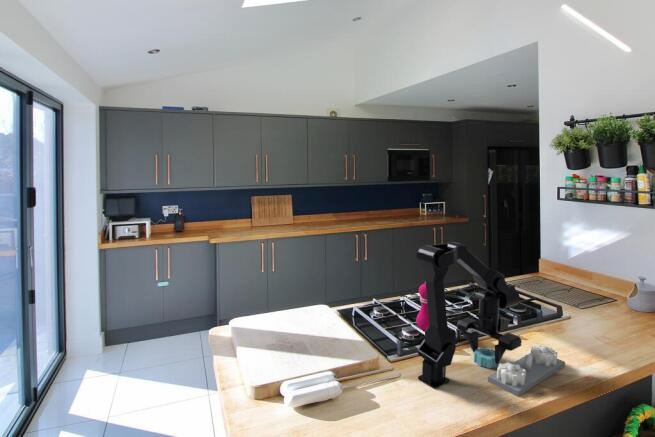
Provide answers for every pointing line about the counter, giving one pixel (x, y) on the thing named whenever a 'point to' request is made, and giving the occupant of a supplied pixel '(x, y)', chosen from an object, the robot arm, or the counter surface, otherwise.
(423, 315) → the pepper mill
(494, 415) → the counter surface
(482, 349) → the teal gear
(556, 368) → the gear board
